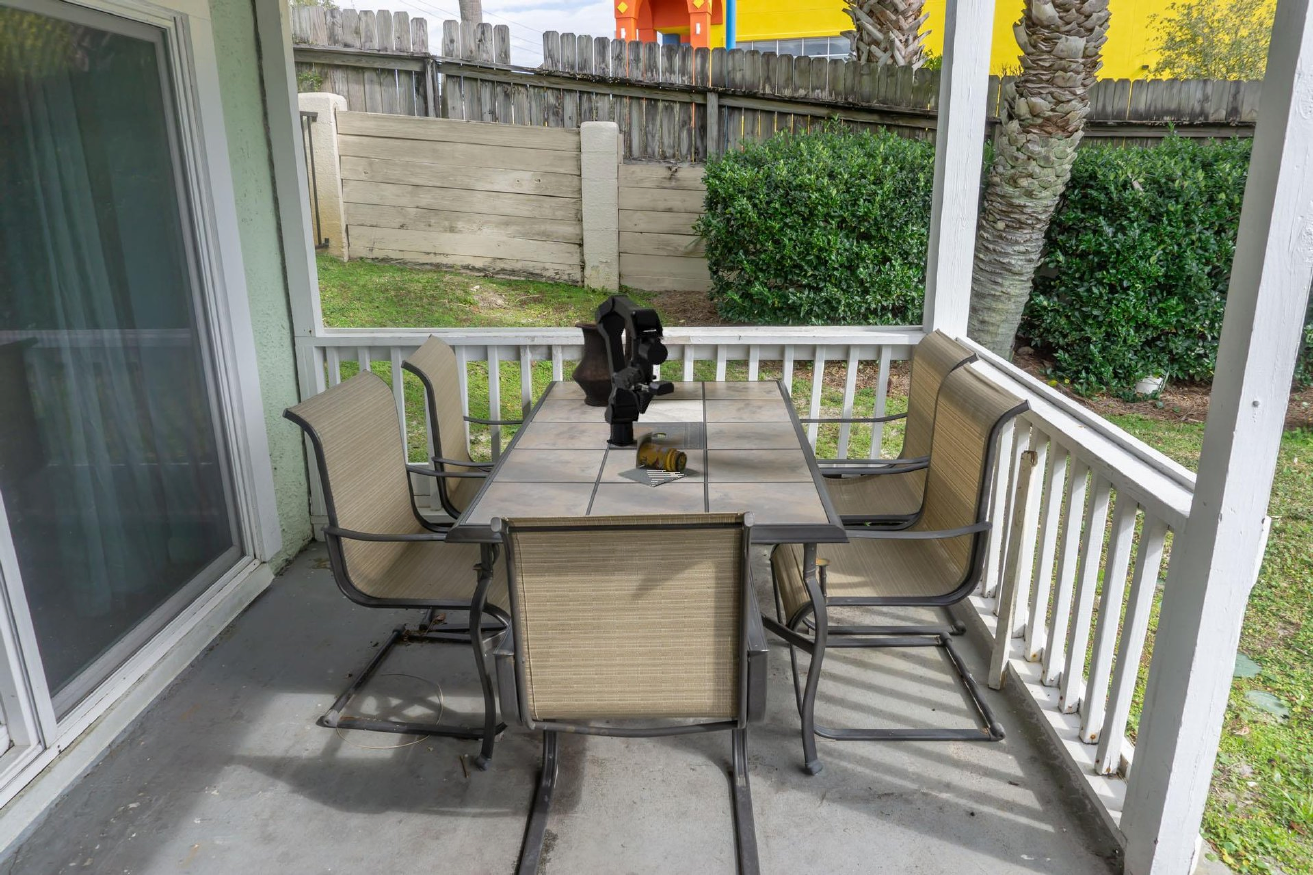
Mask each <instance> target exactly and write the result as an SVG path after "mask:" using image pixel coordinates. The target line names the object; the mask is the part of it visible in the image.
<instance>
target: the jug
mask: <svg viewBox="0 0 1313 875" xmlns="http://www.w3.org/2000/svg"><path fill="white" fill-rule="evenodd" d="M625 323H626V326H625V329H624V335H625V343H624V344H625V347H624V356H625V363H626V368H627V366H628V361H629V360H632V337H631V336H630V334H631V332H630V330H629V327H628V326H627V319H626V321H625ZM574 327H575V328H578V329H581V331H582V334H583V335H582V336H583V340H584V341H583V343H584V354H583V358H582V359H581V361H580V362H579V363H578V364H577V366H576V367H575V368H574V369H573V371H572V373H571V377H572V380H574V381H575V382H576V383H577V385H578V386H579V387H580V388H581V390H583V392H584V394H585V398H584V400H583V401H584V402H583V403H585V404H587V405H592V406H608V404H609V401H608V399H609V397H610V394H611V392H612V382H611V375H610V368H609V361H608V354H607V348H606V341H605V338H604V337H603V336H602V335H601V334H600V332H599V331H598V327H597V324H596V322H595V321H592V322H583V323H582V322H580V323H577V324H575V325H574Z"/></svg>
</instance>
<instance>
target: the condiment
mask: <svg viewBox="0 0 1313 875" xmlns="http://www.w3.org/2000/svg"><path fill="white" fill-rule="evenodd" d="M652 439H653V431H651V432H648V433H645V434H642V435H639V436H638V437H637V442H636V443H637V445H636V454H635V457H636V458H635V468H638V467H641V466H644V465H645V466H649V467H654V468H658V469H662V470H666V471H677V472H681V471H683V470H684V468H685V467H686V466H687V462H688V456H687V454H686V452H684V451H680V450H677V448H674V447H670V446H665V445H661V444H660V445H659V444H656V443H653V442H652Z"/></svg>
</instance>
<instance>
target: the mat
mask: <svg viewBox="0 0 1313 875" xmlns="http://www.w3.org/2000/svg"><path fill="white" fill-rule="evenodd" d="M647 470H662V469H658V468H654V467H649V466H645V465H642V466H640V467H638V468H636V467H634V468H631V469H629V470H624V471H622V472H619V473H617V475H618V474H619V475H618V476H620V475H621V476H620V477H623V476H625V477H627V478H626V479H628V478H629V480H631V479H633V480H632V481H634V480H635V481H634V482H637V481H639V482H638V483H640V482H641V484H643V483H645V484H644V485H646V484H647V485H646V486H648V485H651V486H652V485H657V484H660V483H663V484H665V483H664V482H666V481H669V482H671V481H670V480H672V479H675V480H677V479H676V478H678V477H649V476H671V475H648V474H670V473H647V472H662V471H647ZM663 472H677V471H663ZM695 472H696V473H698V470H695V469H691V468H689V467H686V466H685V468H684V470H683V471H681V472H680V473H675V474H684V475H678V476H684V477H686V476H685V475H687V476H690V475H693V474H696V473H695ZM689 474H690V475H689ZM625 477H624V478H625ZM652 479H664V480H652ZM678 479H679V478H678ZM651 481H658V482H651ZM672 481H673V480H672ZM652 483H655V484H652ZM656 483H657V484H656ZM666 483H667V482H666ZM660 485H661V484H660ZM651 486H650V487H651ZM657 486H658V485H657Z"/></svg>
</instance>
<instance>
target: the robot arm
mask: <svg viewBox="0 0 1313 875" xmlns="http://www.w3.org/2000/svg"><path fill="white" fill-rule="evenodd" d="M626 319H627V326H628V327H629V330H630V332H631V334H630V336H631V337H632V359H631V360H629V361H628V366H627V368H626V363H625V356H624V355H625V349H624V344H623V338H622V337H623V336H622V335H623V333H624V332H625V326H626V323H625V321H626ZM594 322H596V324H597V327H598V331H599V332H600V334H601V335H602V336H603V337H604V338H605V341H606V348H607V354H608V361H609V368H610V375H611V382H612V392H611V394H610V397H609V399H608V401H609V404H608V405H607V407H606V409H605V412H604V414H603V415H604V422H606V423H607V424H609V425H610V426H609V428H610V429H609V430H610V432H609V433H610V434H609V435H610V439H606V442H607V444H608V443H609V444H611V445H612V444H613V445H614V446H615V445H616V446H619V447H624V446H628V445H631V444H633V443H637V441H638V439H635V438H634V437H635V436H634V423H638V422H639V418H640V417H639V416H640V414H641V415H644V414H645V413H646V412H647V410H648V408H649V406H650V405H651V402H652V400H653V399H654V397H661V396H667V395H670V394H673V393H675V384H674V383H673V381H669V380H666V379H660V380H657V378H658V376H657V375H656V374H654V366H660V365H663V364H664V363H665V362H666V361H667V359H668V355H669V351H668V347H666V346H667V345H665V344H663V343H662V339H661V338H663V337H664V334H663V333H664V328H663V324H662V322H661V319H660V317H659V314H658V312H657V311H656V309H654V308H652V307H649V306H648V307H647V306H644V307H643V306H640V305H638V304H637V303H636V302H634V301H633V300H631V299H630V297H628V295H627V294H624V293H622V294H620V293H619V294H618V293H617V294H611V295H608V296H607V299H606V300H605V301H603V302H602V303H600V304H599V305H598V306H597V308H596V310H595V312H594ZM655 380H656V381H655ZM627 444H628V445H627Z"/></svg>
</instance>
